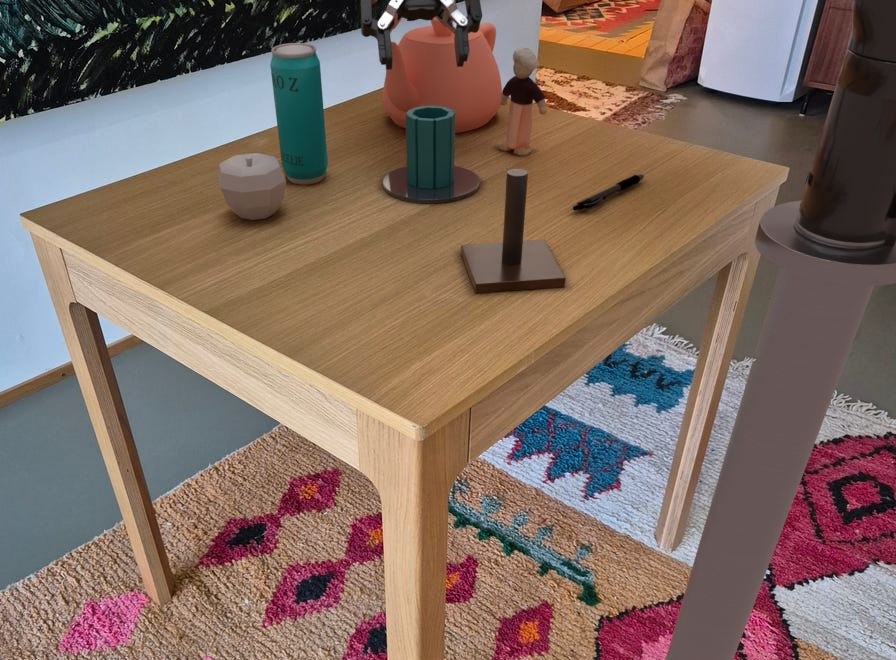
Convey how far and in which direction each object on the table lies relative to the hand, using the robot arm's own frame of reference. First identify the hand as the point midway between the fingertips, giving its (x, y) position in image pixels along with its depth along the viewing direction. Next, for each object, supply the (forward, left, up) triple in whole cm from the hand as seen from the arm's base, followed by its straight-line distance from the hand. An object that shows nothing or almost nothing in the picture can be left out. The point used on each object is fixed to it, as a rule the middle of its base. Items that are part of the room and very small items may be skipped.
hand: (425, 64), depth 98 cm
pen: (-24, +4, -13) cm, 27 cm away
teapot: (+3, -21, -13) cm, 25 cm away
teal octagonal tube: (-1, +4, -12) cm, 13 cm away
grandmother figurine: (-11, -10, -13) cm, 20 cm away
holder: (-15, +25, -13) cm, 31 cm away
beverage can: (+14, +5, -13) cm, 20 cm away
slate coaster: (-2, +4, -13) cm, 13 cm away
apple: (+16, +17, -13) cm, 27 cm away
